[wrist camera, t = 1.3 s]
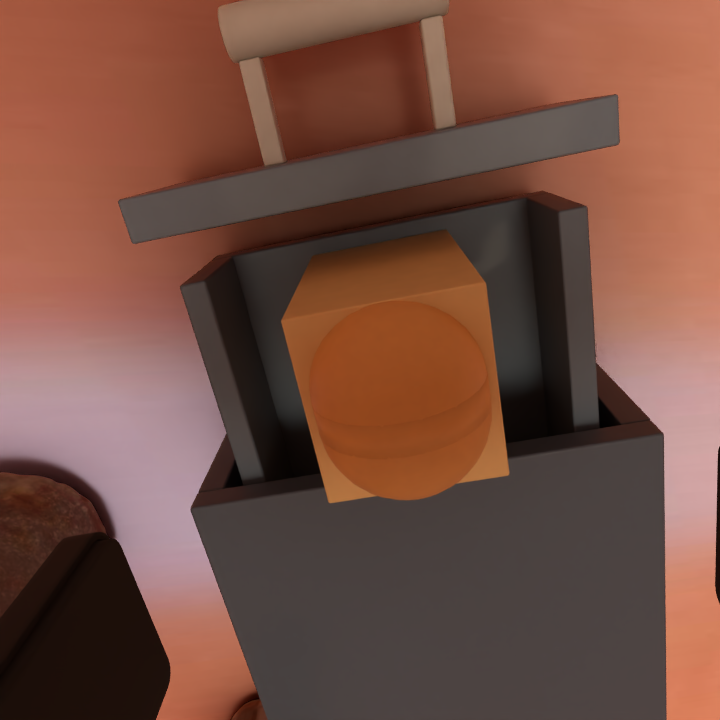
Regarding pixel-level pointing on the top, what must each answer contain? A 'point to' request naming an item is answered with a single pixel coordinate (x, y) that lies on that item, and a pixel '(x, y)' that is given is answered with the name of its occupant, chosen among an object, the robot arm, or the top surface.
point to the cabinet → (456, 585)
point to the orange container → (397, 369)
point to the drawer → (385, 236)
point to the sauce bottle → (251, 711)
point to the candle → (36, 526)
